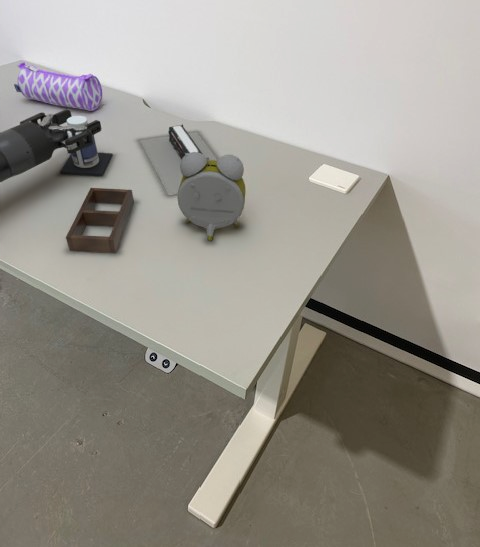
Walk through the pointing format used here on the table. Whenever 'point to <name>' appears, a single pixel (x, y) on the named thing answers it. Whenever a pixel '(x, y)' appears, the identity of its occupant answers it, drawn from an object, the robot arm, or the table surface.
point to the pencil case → (59, 88)
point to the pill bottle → (86, 155)
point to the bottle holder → (100, 220)
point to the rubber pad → (96, 170)
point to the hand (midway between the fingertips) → (84, 119)
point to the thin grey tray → (173, 154)
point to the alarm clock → (211, 191)
